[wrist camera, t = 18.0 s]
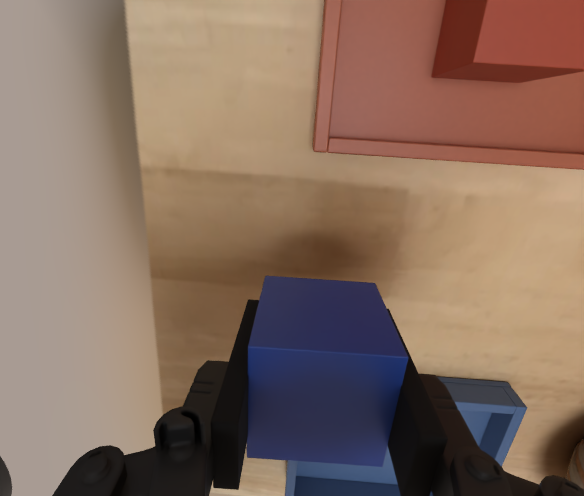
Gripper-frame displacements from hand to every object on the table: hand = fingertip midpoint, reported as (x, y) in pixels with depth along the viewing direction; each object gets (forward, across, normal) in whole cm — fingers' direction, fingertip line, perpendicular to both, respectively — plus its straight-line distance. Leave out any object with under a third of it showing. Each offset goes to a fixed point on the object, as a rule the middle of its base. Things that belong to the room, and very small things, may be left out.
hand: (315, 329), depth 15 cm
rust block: (+8, +8, +14) cm, 18 cm away
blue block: (0, 0, 0) cm, 0 cm away
